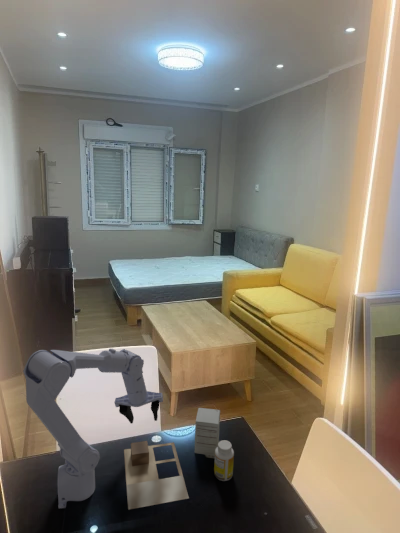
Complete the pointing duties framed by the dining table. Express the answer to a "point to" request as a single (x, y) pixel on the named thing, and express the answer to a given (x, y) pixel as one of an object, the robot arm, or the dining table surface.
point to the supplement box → (207, 431)
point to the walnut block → (139, 453)
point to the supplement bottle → (224, 461)
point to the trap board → (152, 481)
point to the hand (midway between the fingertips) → (144, 419)
